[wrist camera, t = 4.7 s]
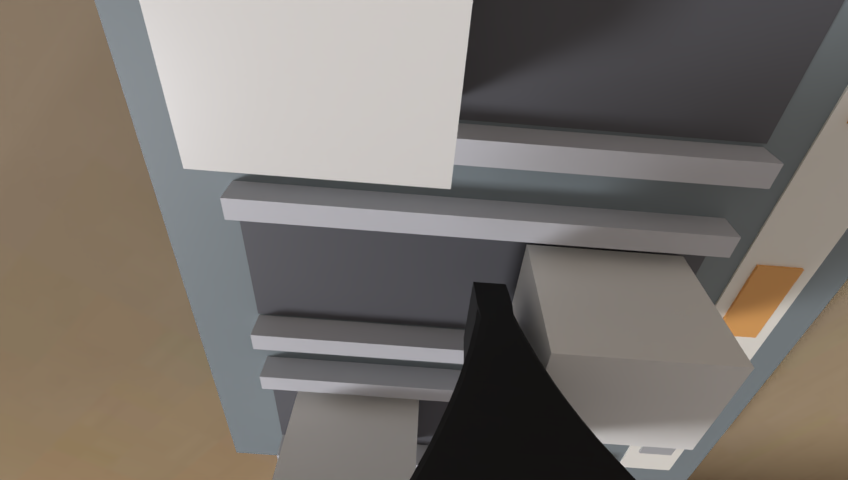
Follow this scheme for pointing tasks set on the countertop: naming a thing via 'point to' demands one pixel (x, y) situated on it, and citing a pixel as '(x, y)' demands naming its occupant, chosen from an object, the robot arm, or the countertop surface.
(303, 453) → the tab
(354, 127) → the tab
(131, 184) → the countertop surface
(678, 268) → the tab middle
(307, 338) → the switch panel
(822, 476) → the countertop surface
